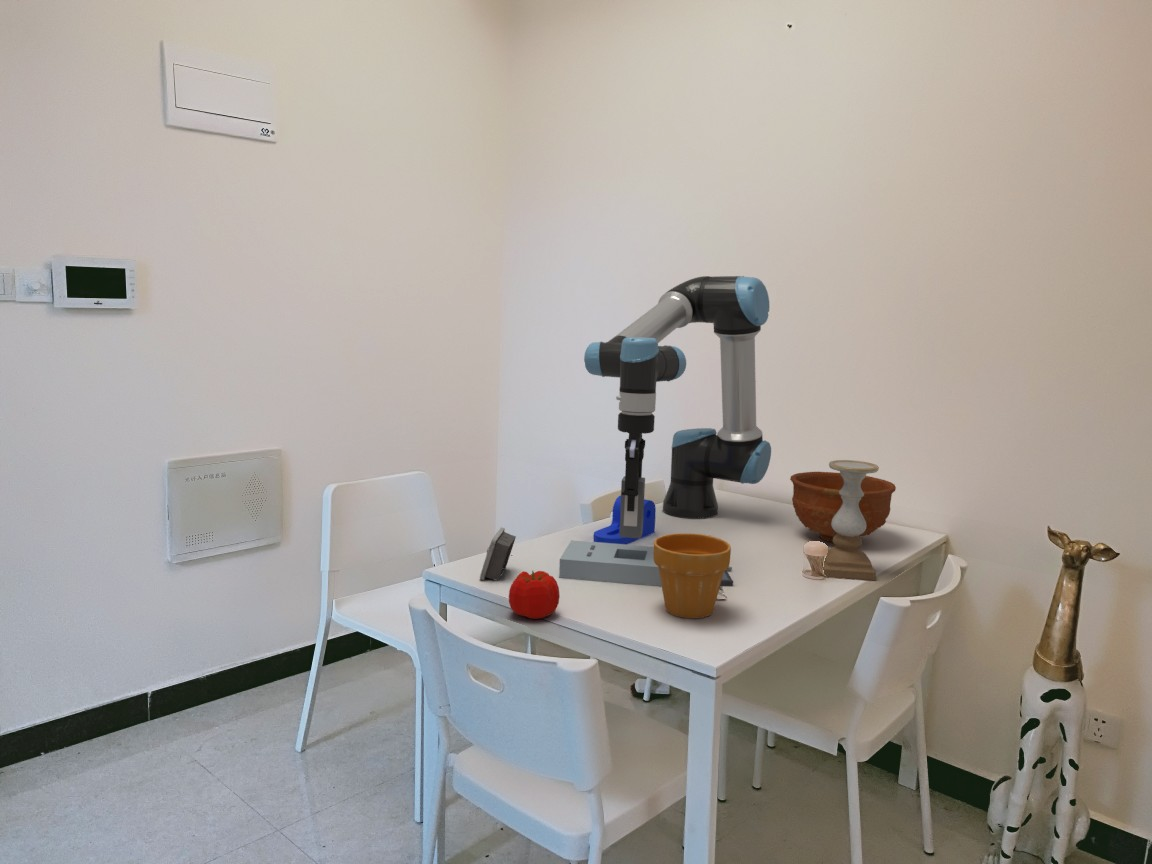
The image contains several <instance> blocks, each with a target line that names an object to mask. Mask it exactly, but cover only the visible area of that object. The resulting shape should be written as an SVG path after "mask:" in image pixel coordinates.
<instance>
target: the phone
mask: <svg viewBox="0 0 1152 864" xmlns="http://www.w3.org/2000/svg"><path fill="white" fill-rule="evenodd" d="M720 585H721V586H722V587H733V586H734V581H733V579H732V577H731V576H730V574H729V571H727V570H725V571H724V573H723V576H722V580H721V584H720ZM721 586H720V587H721Z"/></svg>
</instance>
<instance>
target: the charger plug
mask: <svg viewBox="0 0 1152 864" xmlns="http://www.w3.org/2000/svg"><path fill="white" fill-rule="evenodd" d="M620 485H621V486H620V487H621V489H620V495H621V507H620V530H619V537H628V538H641V536H642V533H643V514H644V499H645V490H646V489H645V488H646V477H639V478H638V514H637V527H635V526H624V506H625V495H622V492H624V490H625V475H624V476H623V477H622V479H621V484H620ZM641 539H642V538H641Z"/></svg>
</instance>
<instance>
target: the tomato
mask: <svg viewBox="0 0 1152 864" xmlns="http://www.w3.org/2000/svg"><path fill="white" fill-rule="evenodd" d="M560 598H561V597H560V587H559V584H558V582H557V580H556V579H555V577H554V576H552V575H550V574H549V573H548V572H546V571H543V570H538V571H535V572H534V570H532V572H531V573H530V574H529V573H528V572H527V571H526V570H525V571H523V570H522V571H521V572H520V573H518V575H517V576H516V578H514V580H513V582H512V583H511V585H510V587H509V591H508V603H509V606H510V609H511V610H512V611H513V613H515V614H517V615H519V616H521V617H522V616H523V617H526V618H529V619H533V620H537V619H543V618H545V617H547V616H551V615H552V614H553V613H555V611H556V610H557V608H558V605H559V603H560Z"/></svg>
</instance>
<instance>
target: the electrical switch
mask: <svg viewBox="0 0 1152 864" xmlns="http://www.w3.org/2000/svg"><path fill="white" fill-rule="evenodd" d="M516 538H517V536H516V535H512V534H511V533H508V532H506V528H505V527H500V528H499V530H497V532H495V534H494V536H493V537H492V538H491V540H490V544H489V546H488V547H487V549H486V556H485V558H484V562H483V564H482V569H481V572H480V576H479V579H480V580H481V581H484V580H485V579H486V578H487V579H490V580H494V581H499V580H500V578H501V576H502V575H503V574H504V572H505V571H506V568H507V565H508V562H509V559H510V557H511V553H512V551H513V547H514V543H515V541H516Z"/></svg>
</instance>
